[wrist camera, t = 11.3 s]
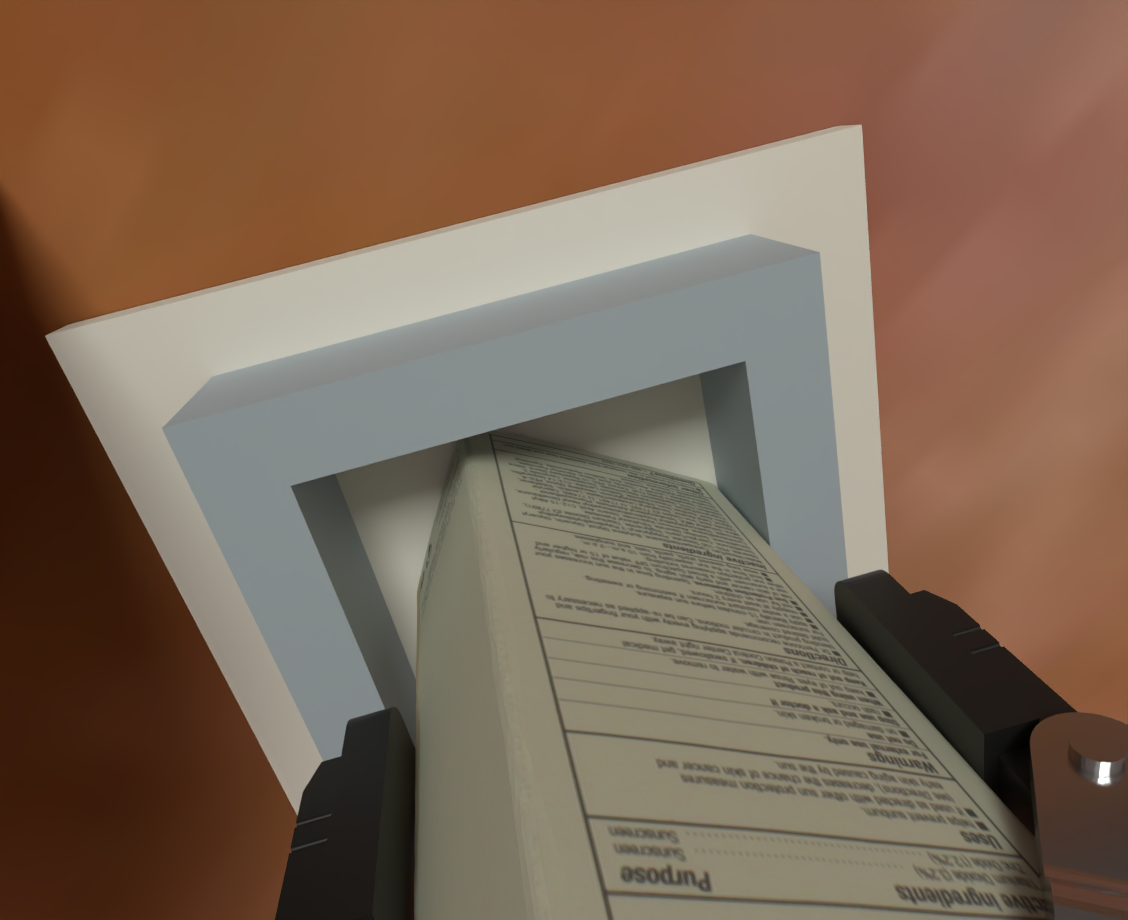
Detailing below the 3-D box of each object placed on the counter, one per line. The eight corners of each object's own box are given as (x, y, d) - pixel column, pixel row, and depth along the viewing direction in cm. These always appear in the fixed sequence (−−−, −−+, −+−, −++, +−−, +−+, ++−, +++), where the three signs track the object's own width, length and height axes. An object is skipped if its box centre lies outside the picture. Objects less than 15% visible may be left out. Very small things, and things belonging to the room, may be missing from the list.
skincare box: (413, 590, 17) (366, 1410, 6) (463, 409, 16) (524, 1043, 5) (665, 636, 19) (1001, 1351, 8) (731, 475, 17) (1266, 1065, 6)
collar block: (836, 126, 16) (959, 119, 12) (875, 653, 21) (966, 756, 18) (68, 323, 15) (-51, 382, 11) (321, 819, 20) (296, 965, 17)
